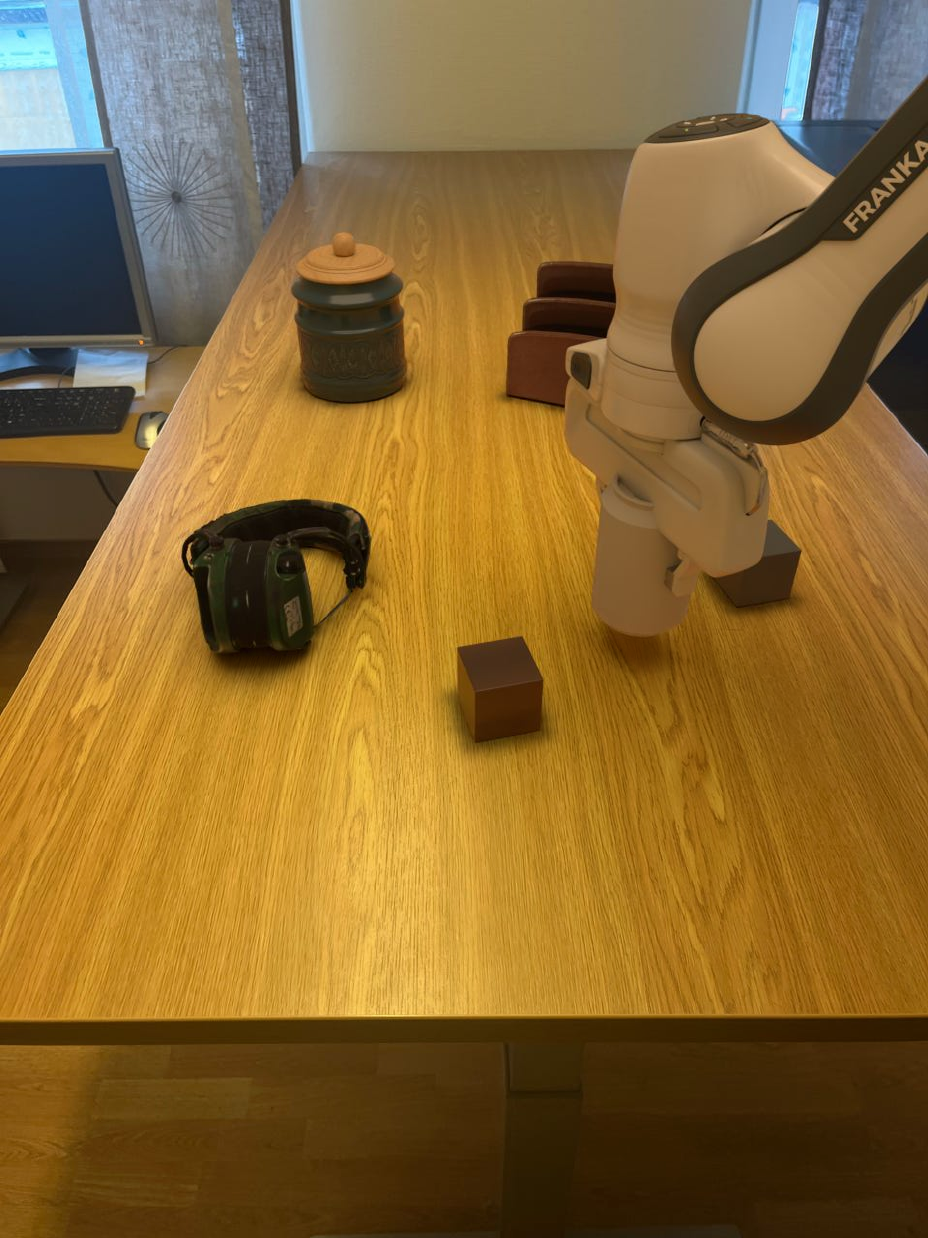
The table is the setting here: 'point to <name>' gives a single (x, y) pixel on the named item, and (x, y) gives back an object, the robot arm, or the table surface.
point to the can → (633, 567)
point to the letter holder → (558, 327)
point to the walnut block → (499, 688)
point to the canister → (349, 322)
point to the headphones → (270, 570)
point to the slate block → (765, 572)
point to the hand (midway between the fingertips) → (645, 558)
